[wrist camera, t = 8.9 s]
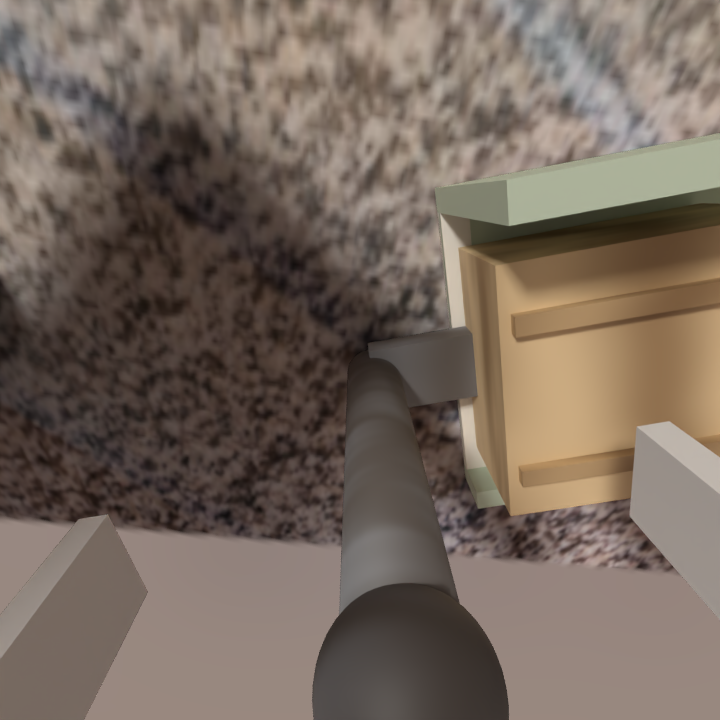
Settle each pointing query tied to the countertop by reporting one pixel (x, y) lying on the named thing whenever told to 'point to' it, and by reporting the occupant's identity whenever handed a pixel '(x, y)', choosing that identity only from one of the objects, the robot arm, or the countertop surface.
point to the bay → (562, 224)
